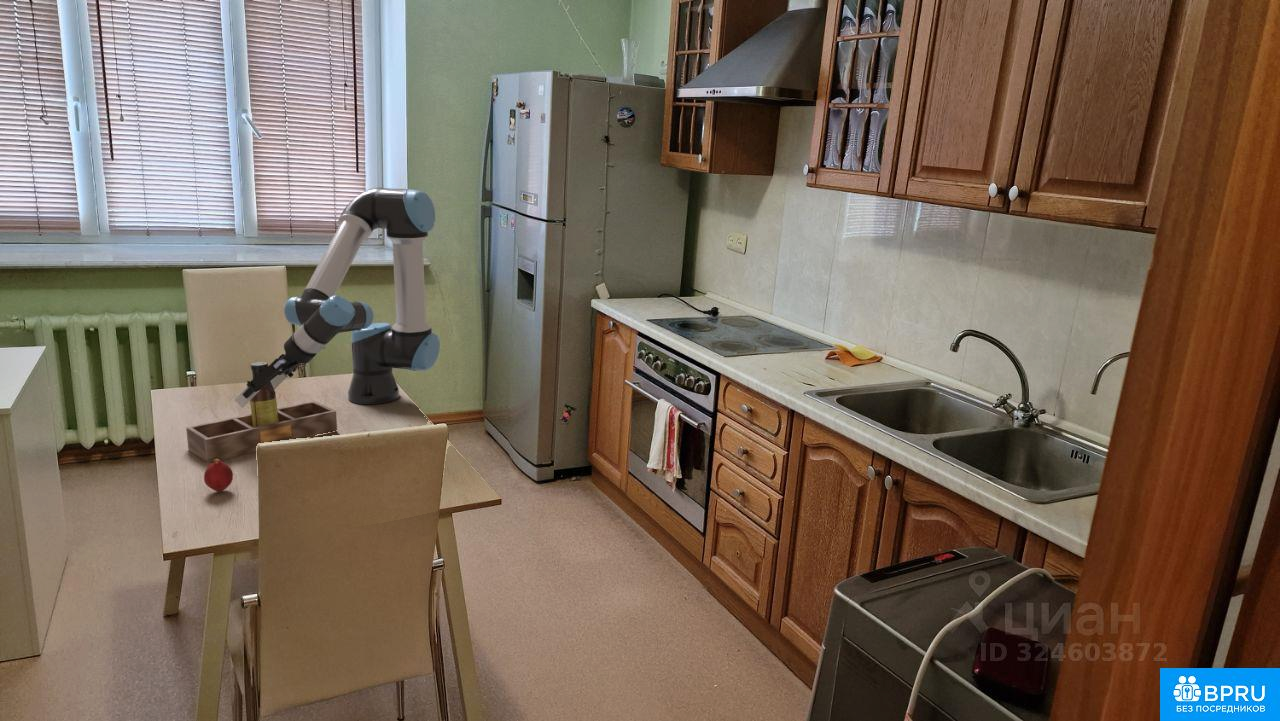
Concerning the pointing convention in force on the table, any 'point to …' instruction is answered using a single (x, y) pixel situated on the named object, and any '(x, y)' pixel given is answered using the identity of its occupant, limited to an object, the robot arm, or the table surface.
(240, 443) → the wooden compartment tray
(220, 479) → the onion
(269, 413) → the sauce bottle
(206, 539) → the table surface
